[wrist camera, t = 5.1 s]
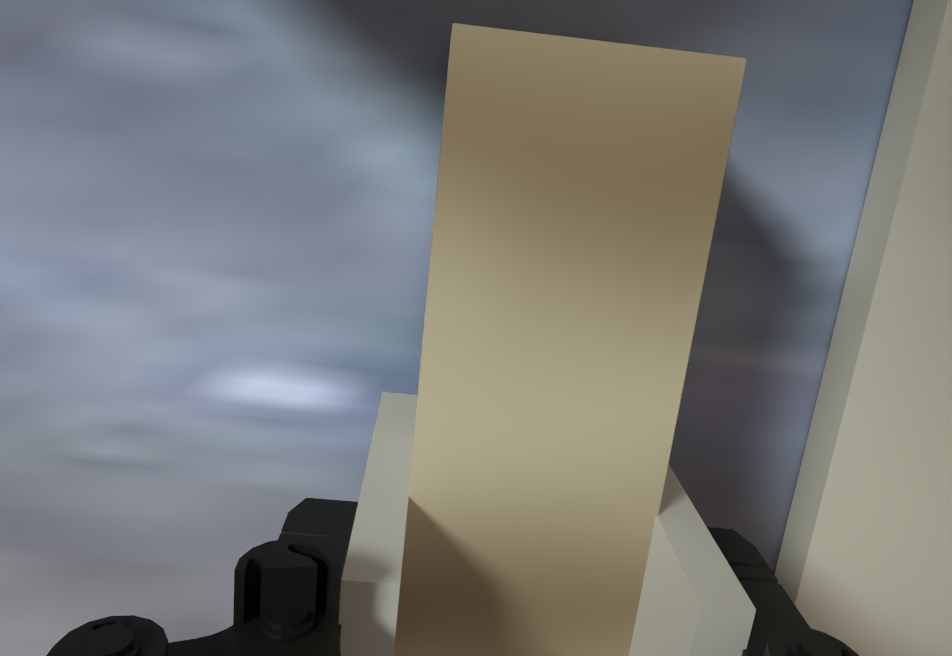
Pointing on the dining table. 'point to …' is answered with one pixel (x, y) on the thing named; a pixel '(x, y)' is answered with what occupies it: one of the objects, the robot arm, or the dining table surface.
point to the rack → (888, 390)
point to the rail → (556, 335)
